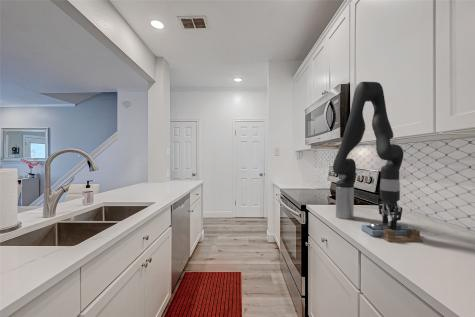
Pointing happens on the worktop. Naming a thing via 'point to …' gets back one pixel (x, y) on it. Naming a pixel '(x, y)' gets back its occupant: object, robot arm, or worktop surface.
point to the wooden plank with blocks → (411, 236)
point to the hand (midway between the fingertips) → (389, 227)
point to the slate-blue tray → (380, 232)
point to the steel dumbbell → (387, 226)
